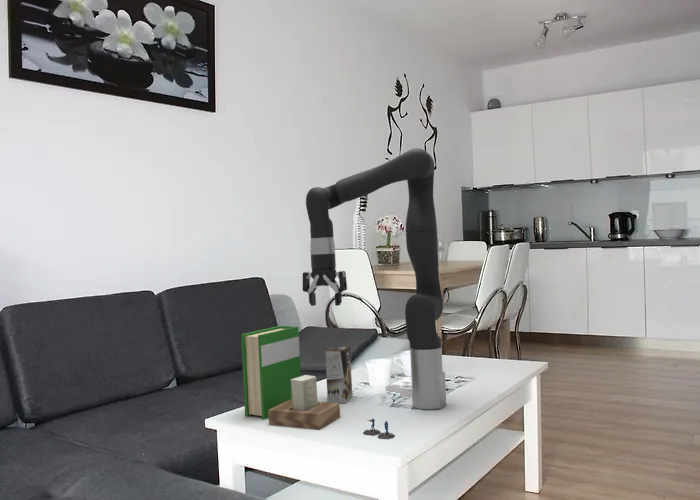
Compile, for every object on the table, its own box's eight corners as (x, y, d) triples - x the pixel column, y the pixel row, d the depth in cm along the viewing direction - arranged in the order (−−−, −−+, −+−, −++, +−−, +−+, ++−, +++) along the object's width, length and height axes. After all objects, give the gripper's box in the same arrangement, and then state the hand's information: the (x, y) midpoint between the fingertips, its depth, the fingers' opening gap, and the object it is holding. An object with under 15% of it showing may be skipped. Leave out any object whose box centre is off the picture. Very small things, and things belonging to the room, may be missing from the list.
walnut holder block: (340, 417, 176) (339, 403, 176) (319, 429, 165) (319, 414, 165) (291, 412, 183) (290, 399, 183) (268, 424, 172) (268, 410, 172)
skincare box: (307, 417, 178) (305, 374, 178) (319, 419, 175) (317, 376, 175) (291, 422, 173) (289, 378, 173) (303, 424, 170) (301, 380, 170)
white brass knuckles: (407, 384, 214) (446, 388, 206) (380, 396, 199) (421, 400, 191) (406, 374, 214) (446, 377, 206) (380, 385, 199) (421, 389, 191)
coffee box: (347, 403, 191) (344, 350, 191) (327, 403, 192) (324, 350, 192) (353, 395, 200) (350, 345, 200) (333, 395, 201) (331, 345, 201)
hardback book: (264, 419, 178) (260, 335, 177) (245, 416, 182) (240, 334, 181) (302, 404, 193) (298, 326, 192) (283, 402, 197) (279, 325, 196)
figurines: (400, 436, 157) (399, 419, 157) (387, 441, 154) (386, 424, 154) (371, 429, 164) (370, 413, 164) (358, 434, 161) (357, 417, 161)
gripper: (349, 251, 192) (351, 304, 192) (308, 253, 198) (311, 304, 198) (338, 252, 185) (340, 306, 185) (296, 254, 191) (299, 306, 192)
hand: (325, 305), depth 192 cm, fingers open, 8 cm apart
